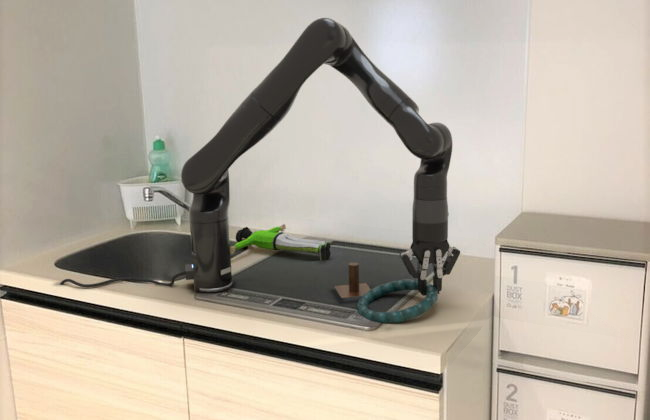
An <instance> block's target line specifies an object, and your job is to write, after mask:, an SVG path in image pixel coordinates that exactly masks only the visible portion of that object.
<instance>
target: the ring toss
mask: <svg viewBox="0 0 650 420" xmlns="http://www.w3.org/2000/svg"><path fill="white" fill-rule="evenodd" d="M333 287H334V289H335V291H336V292H337V294H338V295H339V297H340V298H341V299H347V298H356V297H362V296H363V295H364V294H365V293H366V292H367V291H369V290H371V289H372V288H370V285H368V284H367V282H362V283H361V282H360V263H358V262H355V261H352V262H349V263H348V284H342V285H341V284H340V285H334V286H333Z"/></svg>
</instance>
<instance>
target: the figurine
mask: <svg viewBox="0 0 650 420" xmlns="http://www.w3.org/2000/svg"><path fill="white" fill-rule="evenodd" d="M286 229H287V225H286V224H285V223H284V224H281V225H280V226H274V227H272V228H269V229H266V230H262V229H261V230H255V231H254V232H253V231H252V230H251V228H249V227H248V226H246V227H245V226H244V227H242V228H241V229H238V230H237V232H236V233H235V241H236V242H237V243H235V244H234V245H230V255H233V254H235V253H236V250H241V249H245V248H248V247H251V246H255V247H257V248H259V249H264V250H268V251H269V250H270V251H277V252H279V251H285V252H286V251H287V252H297V253H301V252H302V253H309V254H314V255H318V257H319V260H320V261H321V262H323V261H325V260H329V259H330V257H331V253H332V252H331V244H330V243H329V242H326V241H323V240H316V239H308V238H300V237H295V236H293V235H290V234H289V233H285V231H286Z"/></svg>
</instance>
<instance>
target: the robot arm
mask: <svg viewBox="0 0 650 420" xmlns="http://www.w3.org/2000/svg"><path fill="white" fill-rule="evenodd" d="M323 65H328V66H330V67H331V68H333V69H334V70H336V71H337V72H338V73H340V74H341V75H343V76H344V77H345V78H347V80H349V81H350V82H351V83H352V84H353V85H354V86H355V88H356V89H357V90H358V91H359V92H360V94H361V95H362V96H363V97H364V99H365V100H366V102H367V103H368V104H369V105H370V106H371V108H372V109H373V110H374V111H375V112H376V113H377V114H378V115H379V116H380V117H381V118H382V119H383V120H384V121H385V122H386V123H387V124H388V125H390V126H391V127H392V128H393V130H394V131H395V133H396V135H397V137H398V138H399V139H400V141H401V143H402V144H403V145H404V147H405V148H406V150H408V152H409V153H411V154H412V155H413V156H415V157H416V158H418V159H420V163H419V167H418V169H417V170H416V171H415V173H414V175H413V200H412V212H411V213H412V217H411V218H412V219H411V221H412V222H411V224H412V225H411V226H412V227H411V229H412V237H411V238H412V242H411V245H410V248H409V249H407V250H406V251H400V252H399V257H400V259H401V261H402V263H403V264H404V266H405V268H406V270H407V273H408V274H409V275H410V276H411V277H412V279H417V280H418V290H417V291H418V292H419V293H420V294H421V296H422V297H424V296H425V297H426V291H427V282H428V281H427V279H426V277H427V271H428V268H429V265H430V264H431V266H432V270H433V274H434V275H432V285H433V286H434V287H435V288H436V289H437V291H438V295H440V292H442V290H443V277H444V276H446V275H447V276H448V275H450V274H451V273H452V270H453V268H454V267H455V265H456V263H457V261H458V258H459V257H460V255H461V250H460V249H458V248H457V247H456V246H450V244H449V241H448V239H449V216H450V215H449V204H448V172H449V169H450V165H451V160H452V155H453V153H452V152H453V143H454V142H453V135H452V132H451V131H450V128H449V127H447V125H446V124H444V123H442V122H436V121H435V122H431V123H427V122H426V121H425V120H424V118H423V117H422V116H421V115H420V109H419V108H420V107H419V106H418V104H417V103H416V101H414V100H413V98H412V97H410V96H409V94H407V93H406V92H405V91H404V90H403V89H402V88H401V87H400V86H399V85H398V84H396V83H395V82H394V81H393V80H392V79H391V78H390V77H388V76H387V74H385V73H384V72H383V71H382V70H381V69H380V68H378V67H377V65H376V64H375V63H373V61H372V60H371V59H370V58H369V57H368V56H367V54H366V53H365V52H364V51H363V50H362V48H361V47H360V46H359V44H358V43H357V42H356V40H355V39H354V37H353V35H352V34H351V33H350V31H349V30H348V29H347V27H345V26H344V25H343V24H341V23H340V22H338V21H336V20H334V19H332V18H330V17H320V18H317V19H315V20H313V21H312V22H311V23H309V24H308V25H307V26H306V28H304V30H303V31H302V33H301V34H300V36H299V37H298V38H297V40H295V42H294V44H293V45H292V46H291V48H289V50H288V51H287V53H286V54H285V56H284V57H283V58H282V59H281V60H280V62H278V64H277V65H276V66H274V68H273V69H271V71H270V72H269V73H268V74H267V75H266V76H265V77H264V78H263V79H262V80H261V82H260V83H258V85H257V86H256V87H255V88H254V89H252V91H251V92H250V93H249V94H248V95H247V96H246V97H245V98H244V99H243V101H242V102H241V103H239V105H238V106H237V108H236V109H235V110H234V111H233V112H232V114H231V115H230V116H229V117H228V119H226V121H225V122H224V123H223V124H222V126H221V127H220V129H219V130H218V131H217V132H216V134H215V135H214V136H213V137H212V138H211V139H210V140H209V141H208V142H207V143H206V144H205V145H204V146H202V147H201V148H200V149H199V150H198V151H196V152H195V153H194V154H193V155H192V156H190V157H189V158H188V159H186V161H185V162H184V163H183V166H182V168H181V173H180V179H181V180H180V181H181V184H182V186H183V187H184V189H185V190H187V192H189V193H191V194H192V200H191V201H192V202H191V204H190V206H189V209H188V216H189V218H188V219H189V230H190V231H189V232H190V245H191V259H192V260H191V261H192V263H187V264H185V265H184V271H181V272H178V273H176V274H175V275H173V276H172V277H171V281H170V282H167V283H165V282H161V281H158V280H154V279H149V278H143V277H142V278H141V277H131V276H130V277H129V276H128V277H116V278H112V279H107V280H103V281H100V282H96V283H90V284H89V283H88V284H85V283H81V282H78V281H76V280H73V279H72V278H65V279H63V280H62V281H61V282H60V283H59V285H64V284H65V283H67V282H68V283H71V284H73V285H75V286H78V287H81V288H96V287H99V286H103V285H107V284H111V283H114V282H120V281H135V282H136V281H137V282H142V283H143V282H144V283H151V284H155V285H160V286H165V287H170V286H173V285H174V284H175V280H176V279H177V278H178V277H181V276H183V275H185V280H186V281H192V280H193V289H194V292H195V293H198V292H201V293H219V292H223V291H227V290H228V289H230V288H232V287H233V284H234V283H233V282H234V281H233V273H232V258H231V257H232V256H231V253H230V247H231V241H230V226H229V225H230V224H229V207H230V201H231V197H230V196H231V194H230V192H231V191H230V173H229V169H230V168H231V167H232V165H234V164H235V162H236V161H237V160H238V159H239V158H240V157H242V156H243V155H244V154H246V153H247V152H248V151H249V150H251V149H252V148H254V146H256V145H257V144H258V143H260V142H261V141H262V140H263V139H265V138H266V137H267V136H268V135H269V134H270V133H271V132H272V131H273V130H274V129H275V128H276V127H277V126H278V125H279V124H280V123H281V122H282V121H283V120H284V119H285V118H286V117H287V115H288V113H289V112H290V110H291V109H292V108H293V105H294V103H295V100H296V98H297V96H298V94H299V93H300V90H301V88H302V87H303V85H304V84H305V82H306V81H307V80H308V79H309V78H310V77H311V76H312V75H313V74H314V73H315V72H316V71H318V70H319V68H320V67H321V66H323ZM413 255H414V256H415V258H416V260H417V262H416V266H417V268H415V266H414V264H413V263H412V261H413ZM445 255H447V256H446V258H445V260H444V262H443V259H444V257H445ZM416 269H417V270H416Z"/></svg>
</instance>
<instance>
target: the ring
mask: <svg viewBox="0 0 650 420" xmlns="http://www.w3.org/2000/svg"><path fill="white" fill-rule="evenodd" d="M370 289H371V290H369V291H367V292H366V293H365V294H364V295H363V296H360V297H359V299H358V301H357V303H356V309H355V310H356V311H357V313H358V314H359V316H361V317H363V318H365V319H367V320H369V321H371V322H376V323H382V324H397V323H404V322H407V321H410V320H413V319H416V318H418V317H420V316H422V315H424V314H425V313H427V312H429V311H431V309H432V308H433V307H434V306H435V305H436V303H437V302H438V300H439V299H438V297H439V294H438V291H437V289H436V288H435V287H434V286H433V283H430V282H429V281H427V291H426V295H425V297H424V298H423V299H422V300H421V301H419V302H417V303H416V304H414V305H412V306H409V307H406V308H403V309H399V310H393V311H375V310H372V309H369V306H370V304H371V303H372V302H373V301H375V300H377V299H379V298H381V297H383V296H385V295H388V294H392V293H394V292H395V293H397V292H403V291H418V279H413V278H412V279H409V278H408V279H407V278H406V279H397V280H392V281H389V282H386V283H383V284H380V285H377V286H374V287H373V288H370Z"/></svg>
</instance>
